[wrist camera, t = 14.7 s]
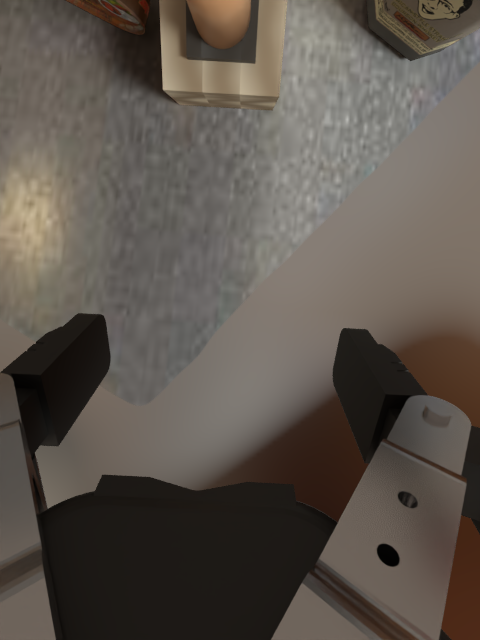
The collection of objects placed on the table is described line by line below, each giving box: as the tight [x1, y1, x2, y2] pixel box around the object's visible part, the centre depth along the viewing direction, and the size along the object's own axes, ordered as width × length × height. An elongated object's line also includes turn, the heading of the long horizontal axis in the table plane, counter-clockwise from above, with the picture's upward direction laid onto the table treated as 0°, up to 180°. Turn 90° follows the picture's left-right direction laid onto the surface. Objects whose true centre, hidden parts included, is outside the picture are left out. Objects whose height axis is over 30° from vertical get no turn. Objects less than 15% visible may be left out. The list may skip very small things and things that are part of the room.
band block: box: [159, 0, 287, 110], centre depth 29 cm, size 10×10×9 cm
